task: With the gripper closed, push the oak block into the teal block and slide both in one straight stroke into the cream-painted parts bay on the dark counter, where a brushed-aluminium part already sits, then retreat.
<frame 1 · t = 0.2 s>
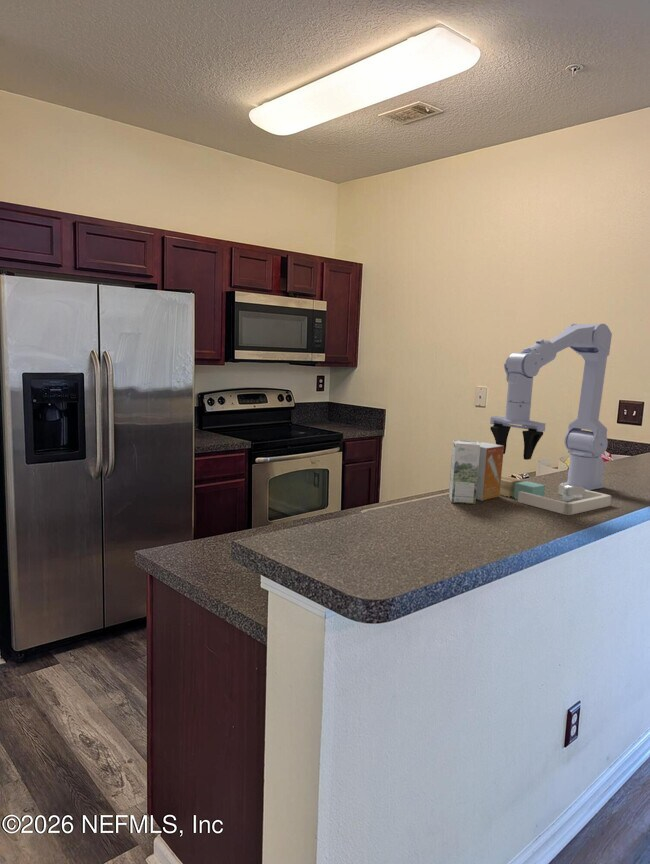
hand: (514, 456, 151), 10 cm above the counter, fingers open, 7 cm apart
syrup box: (461, 501, 146), on the counter
aluminium part: (572, 502, 150), on the counter
oak block: (506, 494, 155), on the counter
small box: (480, 497, 151), on the counter
teal block: (528, 500, 150), on the counter
parts bay: (564, 503, 147), on the counter
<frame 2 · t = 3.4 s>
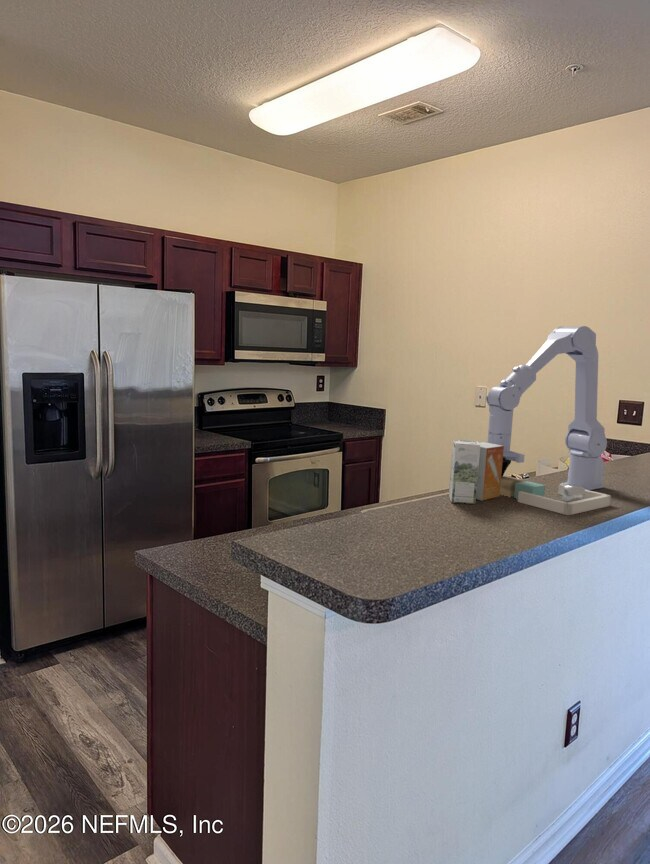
hand: (495, 485, 158), 1 cm above the counter, fingers closed
oak block: (507, 494, 155), on the counter, touching gripper
everything else where it was.
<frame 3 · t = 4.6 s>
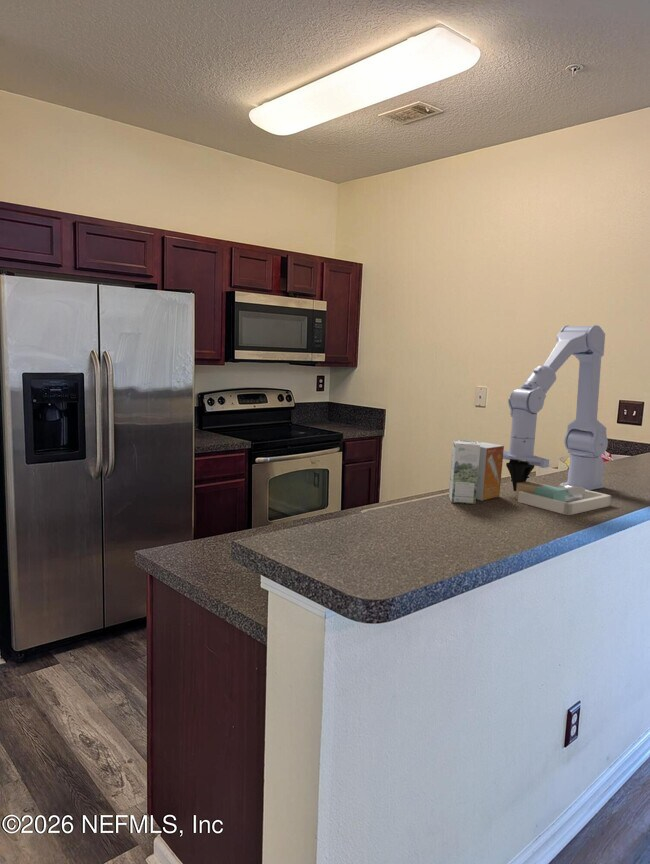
hand: (518, 490, 152), 1 cm above the counter, fingers closed
oak block: (530, 499, 149), on the counter, touching gripper, teal block
teal block: (548, 504, 146), on the counter, touching oak block
everything else where it was.
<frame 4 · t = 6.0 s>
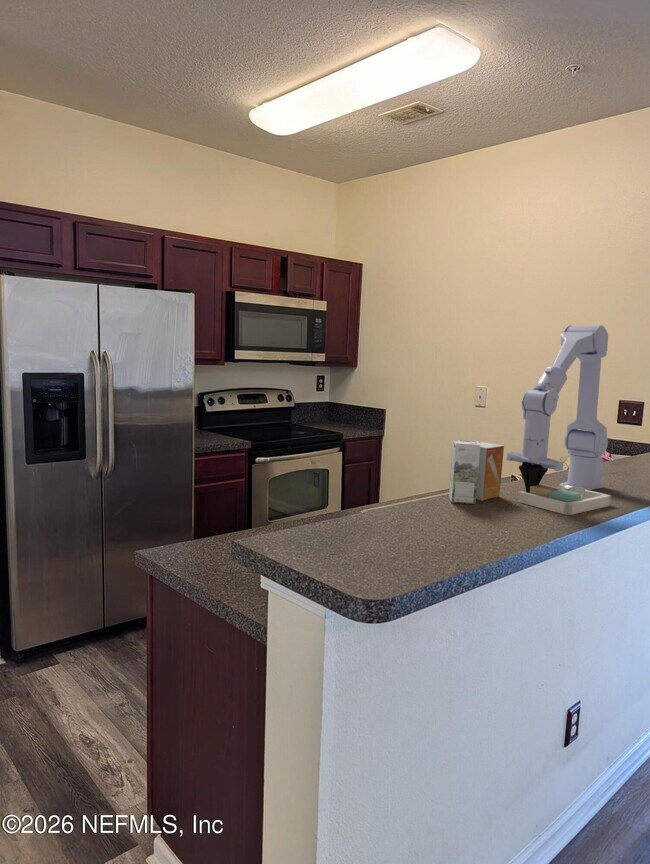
hand: (530, 494, 149), 1 cm above the counter, fingers closed
oak block: (544, 503, 146), on the counter, touching gripper
teal block: (563, 509, 143), on the counter
everything else where it was.
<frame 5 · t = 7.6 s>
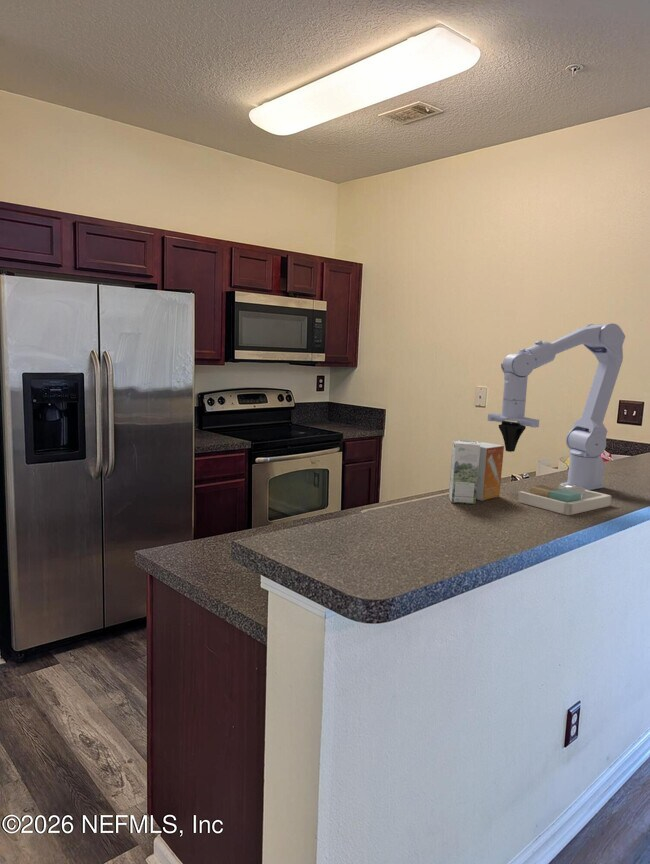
hand: (510, 451, 161), 10 cm above the counter, fingers closed
oak block: (544, 504, 146), on the counter
everything else where it was.
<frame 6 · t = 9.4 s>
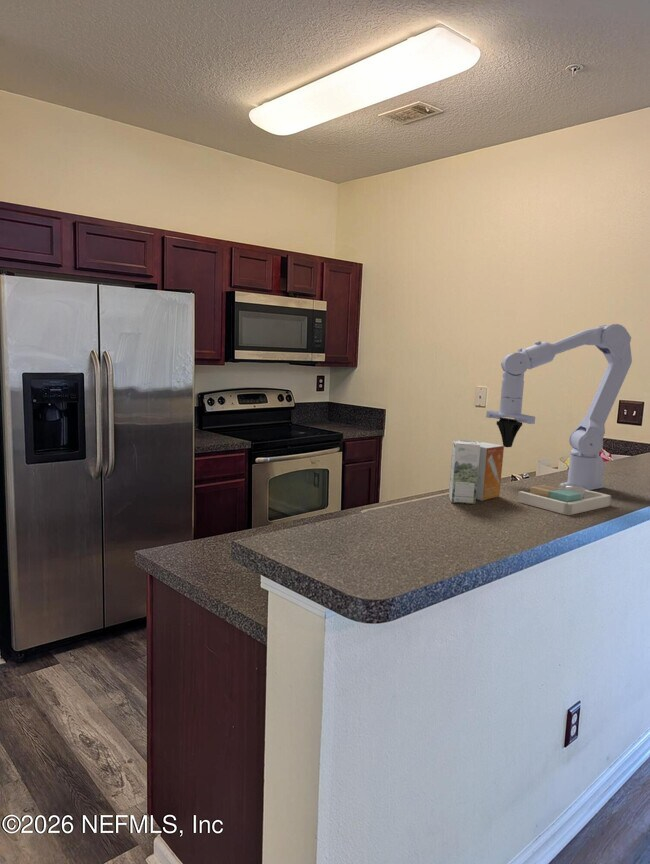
hand: (507, 446, 168), 10 cm above the counter, fingers closed
nothing on the counter moved.
at the end: oak block inside the target area (4.8 cm from its centre), on the counter; teal block inside the target area (4.4 cm from its centre), on the counter; aluminium part moved 0.1 cm from its start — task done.
